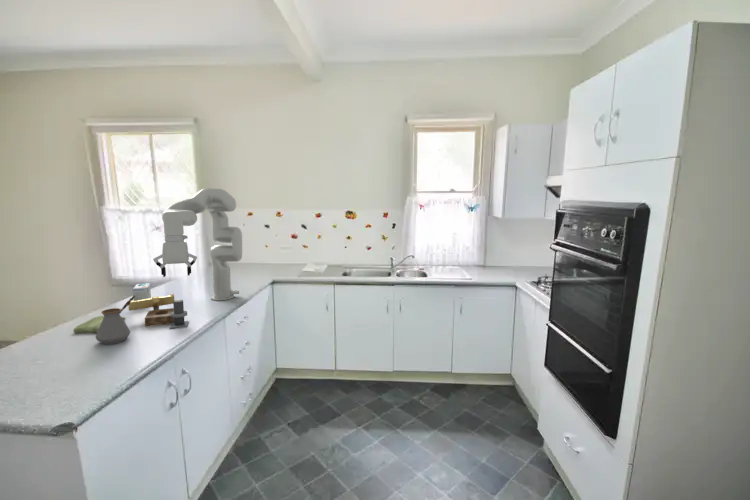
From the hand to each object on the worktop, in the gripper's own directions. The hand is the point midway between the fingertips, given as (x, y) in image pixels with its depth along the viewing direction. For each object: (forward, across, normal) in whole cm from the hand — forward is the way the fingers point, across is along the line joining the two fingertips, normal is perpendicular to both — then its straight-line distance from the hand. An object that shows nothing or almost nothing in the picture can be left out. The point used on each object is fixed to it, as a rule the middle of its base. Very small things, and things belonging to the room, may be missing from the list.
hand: (176, 275), depth 159 cm
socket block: (+24, +8, -10) cm, 27 cm away
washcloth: (+24, +33, -11) cm, 42 cm away
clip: (+18, +13, -16) cm, 27 cm away
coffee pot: (+24, +21, +6) cm, 32 cm away
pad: (+24, 0, 0) cm, 24 cm away
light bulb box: (+24, +21, -41) cm, 52 cm away
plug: (+23, 0, 0) cm, 23 cm away
